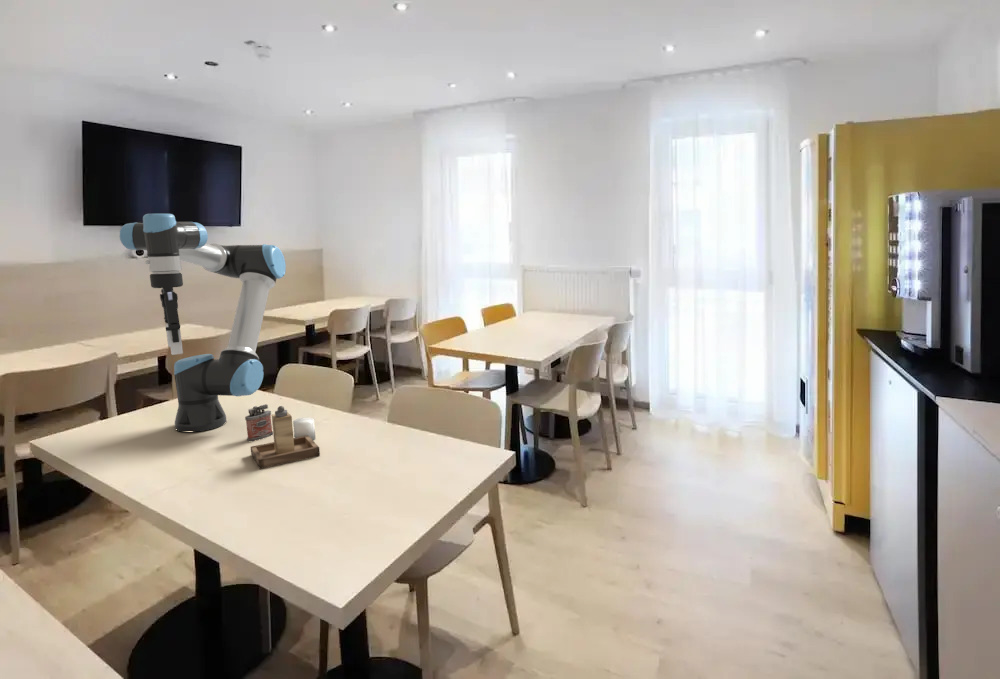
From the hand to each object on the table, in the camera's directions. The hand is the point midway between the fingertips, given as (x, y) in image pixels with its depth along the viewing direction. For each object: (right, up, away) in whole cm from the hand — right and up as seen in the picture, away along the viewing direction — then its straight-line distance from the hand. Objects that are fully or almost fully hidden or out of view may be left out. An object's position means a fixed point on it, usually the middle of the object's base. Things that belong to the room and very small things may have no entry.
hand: (175, 350), depth 158 cm
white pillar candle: (+30, -28, +17) cm, 44 cm away
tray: (+29, -30, +4) cm, 42 cm away
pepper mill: (+28, -29, +4) cm, 41 cm away
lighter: (+15, -28, +20) cm, 37 cm away
